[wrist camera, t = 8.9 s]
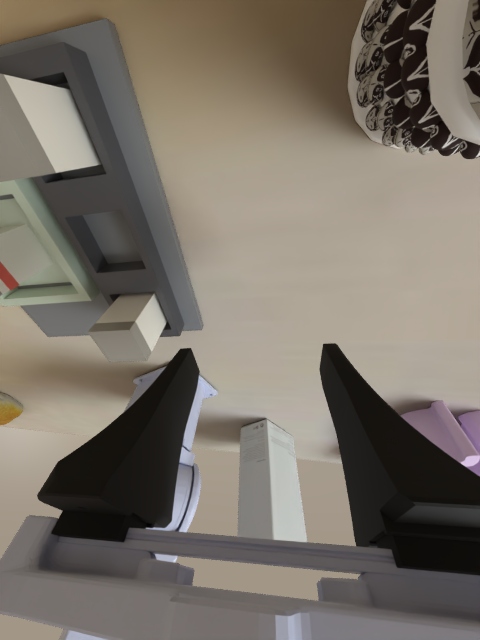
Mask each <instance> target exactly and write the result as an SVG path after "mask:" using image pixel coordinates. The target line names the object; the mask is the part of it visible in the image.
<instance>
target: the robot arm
mask: <svg viewBox="0 0 480 640" xmlns="http://www.w3.org/2000/svg"><path fill="white" fill-rule="evenodd" d="M199 372H200V371H199V368H198V366H197V363H196V360H195V358H194V355H193V352H192V350H191V348H185V349H180V350H179V351H178V353H177V354H176V355H175V356H174V358H173V359H172V360H171V361H170V363H169V364H168V365H167V366H165V367H163V368H160V369H158V370H155V371H153V372H150V373H147V374H145V375H142V376H140V377H137V378H135V379H134V380H133V383H135V384H136V385H137V387H136V389H135V391H134V393H133V395H132V397H131V399H130V401H129V403H128V405H127V407H126V409H125V411H124V413H123V414H121V415H120V416H119V417H118V418H117V419H116V420H114V421H113V422H112V423H111V424H110V425H109V426H107V427H106V428H105V429H104V430H102V431H101V432H100V433H98V434H97V435H96V436H95V437H93V438H92V439H91V440H89V441H88V442H87V443H85V444H84V445H82V446H81V447H79V448H78V449H76V450H75V451H73V452H72V453H71V454H69V455H68V456H66V457H65V458H63V459H62V460H60V461H59V462H58V463H57V464H56V466H55V467H54V469H53V471H52V472H51V474H50V475H49V477H48V479H47V480H46V482H45V483H44V485H43V487H42V488H41V490H40V492H39V493H38V495H37V496H38V499H39V500H40V501H42V502H43V503H46V504H48V505H50V506H53V507H55V508H58V509H60V510H62V511H63V512H62V514H61V515H60V517H59V519H58V518H54V517H44V516H32V515H30V516H28V517H26V519H25V520H24V522H23V524H22V525H21V527H20V529H19V530H18V532H17V533H16V535H15V537H14V538H13V540H12V542H11V543H10V545H9V546H8V548H7V550H6V551H5V553H4V555H3V557H2V558H1V560H0V614H3V615H8V616H13V617H18V618H22V619H26V620H30V621H35V622H39V623H43V624H47V625H51V626H55V627H59V628H63V631H62V633H61V636H60V638H59V640H480V476H478V475H477V474H475V473H474V472H473V471H471V470H470V469H468V468H467V467H465V466H464V465H462V464H461V463H460V462H458V461H457V460H455V459H454V458H452V457H451V456H450V455H448V454H447V453H446V452H444V451H443V450H442V449H440V448H439V447H438V446H436V445H435V444H434V443H432V442H431V441H430V440H429V439H427V438H426V437H425V436H424V435H422V434H421V433H420V432H419V431H418V430H416V429H415V428H414V427H413V426H411V425H410V424H409V423H408V422H407V421H406V420H404V419H403V418H402V417H401V416H400V415H399V414H398V413H397V412H395V411H394V410H393V409H392V408H391V407H390V406H389V405H388V404H387V403H386V402H385V401H384V400H383V399H382V398H381V397H380V396H379V395H378V394H377V393H376V392H375V391H374V390H373V389H372V388H371V386H370V385H369V384H368V383H367V382H366V381H365V380H364V379H363V377H362V376H361V375H360V374H359V373H358V372H357V370H356V369H355V368H354V367H353V365H352V364H351V363H350V362H349V360H348V359H347V358H346V356H345V355H344V354H343V352H342V351H341V350H340V348H339V347H338V345H337V344H336V343H335V344H323V349H322V356H321V363H320V374H321V380H322V386H323V390H324V393H325V397H326V400H327V403H328V407H329V410H330V413H331V417H332V420H333V423H334V427H335V430H336V434H337V439H338V444H339V449H340V454H341V459H342V464H343V469H344V475H345V480H346V486H347V492H348V498H349V504H350V510H351V517H352V522H353V530H354V537H355V542H356V546H344V545H332V544H320V543H309V542H297V541H285V540H273V539H260V538H248V537H236V536H224V535H211V534H200V533H188V532H187V529H188V527H189V525H190V524H191V521H192V519H193V516H194V514H195V511H196V508H197V504H198V500H199V495H200V489H201V488H200V487H201V475H200V472H199V468H198V466H197V464H195V463H193V462H194V457H195V454H193V453H191V449H192V444H193V440H194V436H195V431H196V427H197V422H198V418H199V413H200V409H201V404H202V400H203V399H205V398H209V397H212V396H216V395H217V391H216V390H215V389H214V388H213V387H212V386H211V385H210V384H209V383H208V382H207V381H206V380H204V379H203V378H202V377H201V376H200V375H199ZM177 556H182V557H193V558H202V559H212V560H222V561H232V562H243V563H253V564H264V565H273V566H283V567H294V568H303V569H313V570H324V571H334V572H344V573H354V574H361V575H360V576H359V577H358V580H357V579H343V578H321V580H320V581H318V583H317V588H318V596H319V601H314V600H307V599H298V598H290V597H282V596H273V595H266V594H257V593H248V592H240V591H232V590H223V589H214V588H206V587H197V586H192V582H193V576H194V569H193V568H190V567H186V566H182V565H180V564H179V563H175V561H176V560H177Z"/></svg>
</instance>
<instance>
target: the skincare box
mask: <svg viewBox="0 0 480 640" xmlns="http://www.w3.org/2000/svg"><path fill="white" fill-rule="evenodd" d="M238 506H239V507H238V537H248V538H260V539H273V540H285V541H297V542H307V537H306V530H305V523H304V515H303V508H302V502H301V493H300V487H299V479H298V472H297V464H296V457H295V449H294V442H293V436H291V435H290V434H288V433H286V432H285V431H283V430H282V429H280V428H279V427H277V426H276V425H275V424H273V423H271V422H270V421H269V420H267V419H265V420H262V421H260V422H257V423H253V424H249V425H246V426H243V427H241V434H240V467H239V503H238Z"/></svg>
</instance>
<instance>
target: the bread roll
mask: <svg viewBox="0 0 480 640" xmlns="http://www.w3.org/2000/svg"><path fill="white" fill-rule="evenodd" d="M22 412H23V406H22V405H21V404H20V403H19V402H18V401H16V400H15V399H14V398H12V397H11V396H9V395H7V394H4V393H2V392H0V425H4V424H7V423H9V422H10V421H12V420H13V419H14V418H16V417H18V416H19V415H20V414H21V413H22Z"/></svg>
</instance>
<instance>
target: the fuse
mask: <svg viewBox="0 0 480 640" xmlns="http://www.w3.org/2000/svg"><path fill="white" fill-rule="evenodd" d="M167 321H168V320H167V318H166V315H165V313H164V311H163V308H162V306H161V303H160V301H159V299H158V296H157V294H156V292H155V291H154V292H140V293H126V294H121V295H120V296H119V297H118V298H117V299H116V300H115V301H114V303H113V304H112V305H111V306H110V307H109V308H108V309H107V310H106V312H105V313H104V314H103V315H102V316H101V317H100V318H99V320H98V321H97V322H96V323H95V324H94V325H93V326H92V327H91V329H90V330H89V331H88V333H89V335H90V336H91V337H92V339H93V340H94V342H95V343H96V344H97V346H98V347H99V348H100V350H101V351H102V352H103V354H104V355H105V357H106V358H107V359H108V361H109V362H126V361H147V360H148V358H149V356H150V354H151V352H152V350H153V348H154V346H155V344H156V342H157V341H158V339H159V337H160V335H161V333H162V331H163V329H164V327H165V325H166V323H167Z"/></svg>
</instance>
